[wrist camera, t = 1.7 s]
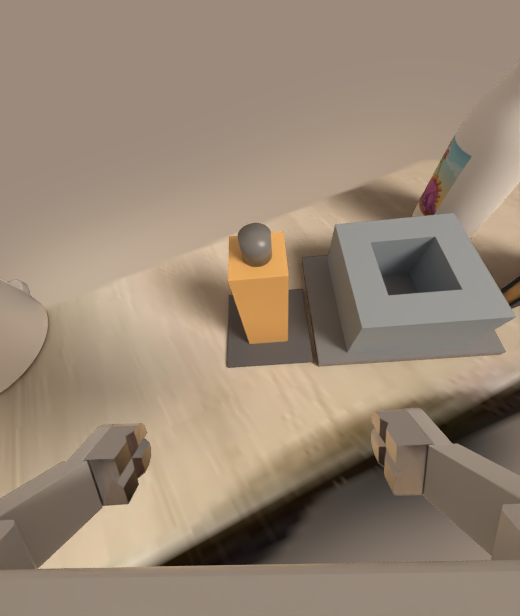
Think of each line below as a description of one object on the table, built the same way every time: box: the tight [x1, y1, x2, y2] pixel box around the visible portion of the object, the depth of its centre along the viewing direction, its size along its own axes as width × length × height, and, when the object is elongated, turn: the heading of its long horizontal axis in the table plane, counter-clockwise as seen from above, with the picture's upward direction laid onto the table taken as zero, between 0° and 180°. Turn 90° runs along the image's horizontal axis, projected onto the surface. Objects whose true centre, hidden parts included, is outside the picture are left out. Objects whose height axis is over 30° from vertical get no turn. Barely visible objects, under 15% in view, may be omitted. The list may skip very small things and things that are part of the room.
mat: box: [228, 289, 313, 368], centre depth 29 cm, size 9×9×1 cm
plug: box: [228, 223, 289, 344], centre depth 23 cm, size 4×4×14 cm
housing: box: [302, 213, 516, 366], centre depth 27 cm, size 18×14×7 cm
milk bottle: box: [412, 59, 520, 239], centre depth 26 cm, size 8×8×20 cm
